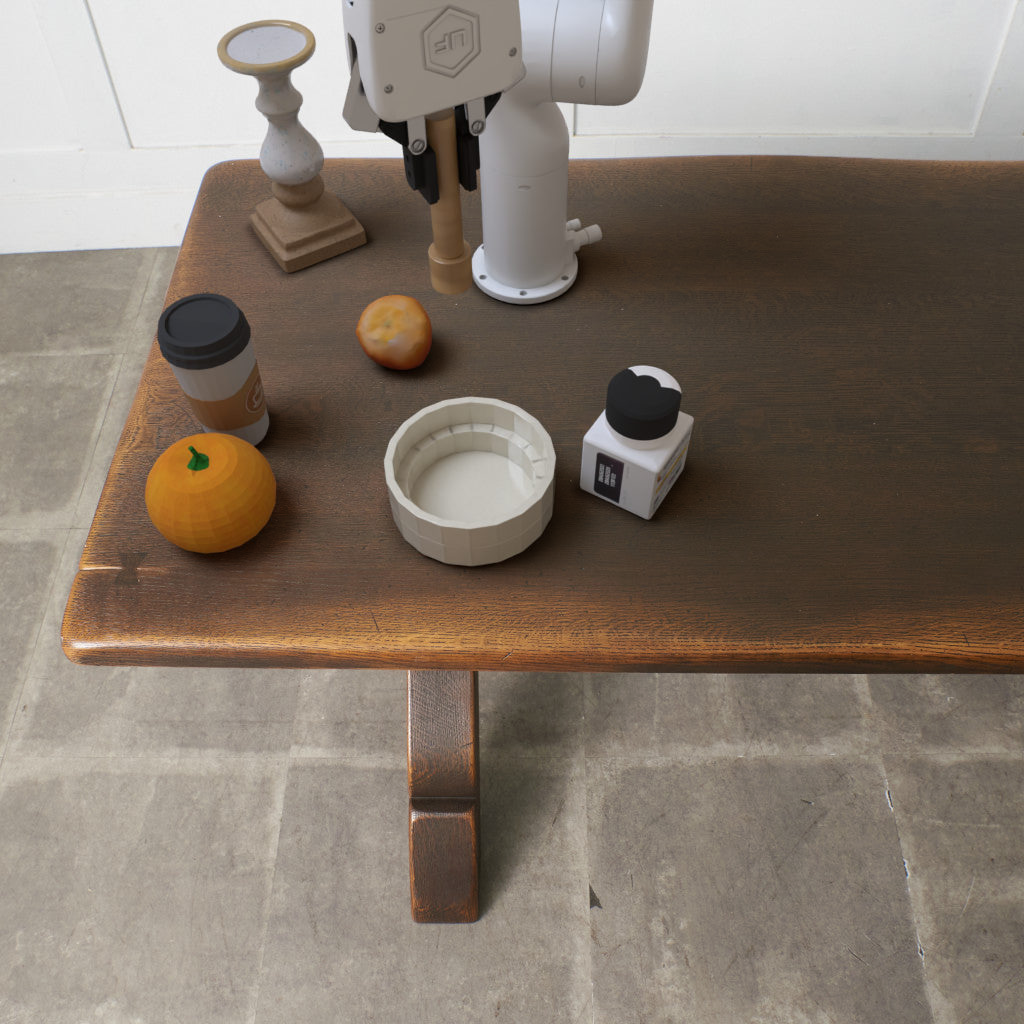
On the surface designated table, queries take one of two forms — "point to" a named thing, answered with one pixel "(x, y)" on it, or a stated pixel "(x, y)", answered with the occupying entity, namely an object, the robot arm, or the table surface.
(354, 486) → the table surface
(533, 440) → the bowl
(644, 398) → the container
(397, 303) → the fruit
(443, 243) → the wooden pestle
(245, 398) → the coffee cup
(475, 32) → the robot arm
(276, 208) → the candle holder
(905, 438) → the table surface
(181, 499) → the fruit
